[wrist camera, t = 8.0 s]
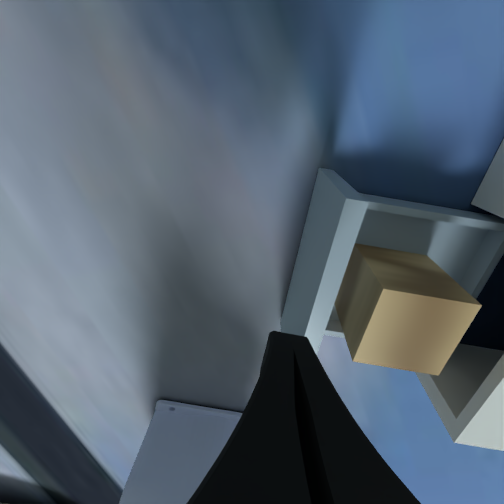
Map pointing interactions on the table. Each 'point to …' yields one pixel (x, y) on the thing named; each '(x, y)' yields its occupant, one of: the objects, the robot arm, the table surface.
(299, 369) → the robot arm
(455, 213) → the sliding drawer
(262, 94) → the table surface
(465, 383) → the player box
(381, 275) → the oak block
